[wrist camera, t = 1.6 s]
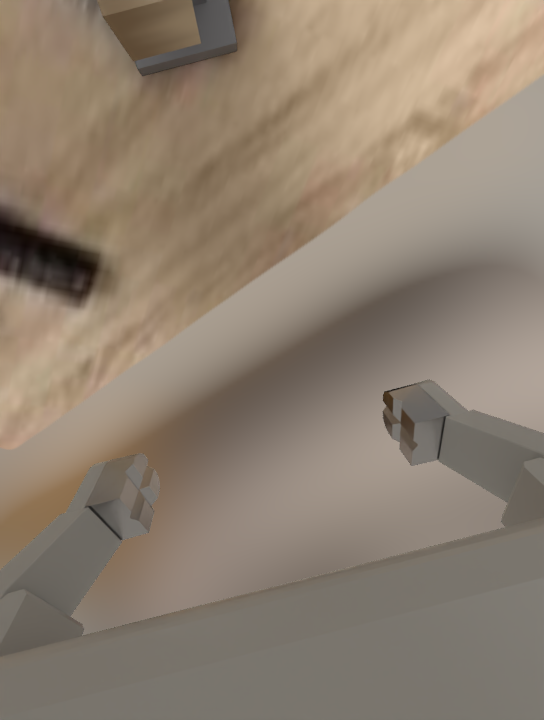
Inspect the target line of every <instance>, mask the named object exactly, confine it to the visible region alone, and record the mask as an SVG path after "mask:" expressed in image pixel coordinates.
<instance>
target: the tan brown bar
mask: <svg viewBox="0 0 544 720" xmlns="http://www.w3.org/2000/svg"><path fill="white" fill-rule="evenodd" d="M97 1H98V4H99V7H100V10H101V13H102V15H103V17H104V19H105V20H106V22H107V23H108V25H109V26H110V28H111V29H112V31H113V32H114V34H115V35H116V37H117V38H118V39H119V41H120V42H121V44H122V45H123V47H124V48H125V50H126V51H127V53H128V54H129V56H130V57H131V59H132V60H133V61H137V60H141V59H144V58H148V57H152V56H156V55H159V54H163V53H167V52H171V51H175V50H178V49H182V48H186V47H190V46H193V45H197V44H201V41H200V36H199V31H198V27H197V22H196V17H195V12H194V8H193V3H192V0H97Z"/></svg>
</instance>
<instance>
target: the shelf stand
mask: <svg viewBox="0 0 544 720" xmlns="http://www.w3.org/2000/svg"><path fill="white" fill-rule="evenodd" d="M192 3H193V8H194V12H195V17H196V22H197V27H198V31H199V36H200V41H201V44H197V45H193V46H190V47H186V48H182V49H178V50H175V51H171V52H167V53H163V54H159V55H156V56H152V57H148V58H144V59H141V60H137V61H135V63H136V66H137V69H138V70H139V72H140V73H141V75H142V76H144V75H148V74H151V73H155V72H159V71H163V70H167V69H170V68H174V67H178V66H182V65H185V64H189V63H193V62H197V61H201V60H204V59H208V58H212V57H216V56H220V55H223V54H227V53H231V52H235V51H237V41H236V36H235V31H234V26H233V21H232V16H231V11H230V6H229V1H228V0H192Z"/></svg>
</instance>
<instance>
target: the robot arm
mask: <svg viewBox="0 0 544 720" xmlns="http://www.w3.org/2000/svg"><path fill="white" fill-rule="evenodd" d="M383 402H384V403H385V404H386V408H385V409H384V410H383V419H384V423H385V426H386V429H387V431H388V433H389V434H390V436H391V437H392V438H393V439H394V440H396V441H398V442H400V450H401V452H402V453H403V455H404V456H405V458H406V459H407V460H408V462H409V463H410V465H411V466H413V465H418V464H422V463H427V462H431V461H435V460H439V462H441V463H442V464H444V465H446V466H447V467H449V468H451V469H452V470H454V471H456V472H458V473H459V474H461V475H462V476H464V477H466V478H467V479H469V480H471V481H472V482H474V483H476V484H477V485H479V486H481V487H482V488H484V489H486V490H487V491H489V492H491V493H492V494H494V495H495V496H497V497H499V498H501V499H502V500H504V501H505V502H507V505H506V508H505V510H504V513H503V515H502V520H501V522H502V524H503V525H504V526H505V528H501V529H497V530H493V531H489V532H485V533H481V534H477V535H473V536H470V537H466V538H462V539H458V540H454V541H450V542H446V543H443V544H438V545H434V546H430V547H426V548H423V549H419V550H415V551H411V552H407V553H403V554H399V555H396V556H391V557H387V558H383V559H380V560H376V561H372V562H368V563H364V564H360V565H356V566H352V567H349V568H344V569H341V570H336V571H333V572H329V573H325V574H321V575H317V576H313V577H309V578H306V579H301V580H298V581H294V582H290V583H286V584H282V585H278V586H274V587H270V588H266V589H262V590H258V591H254V592H250V593H247V594H243V595H239V596H235V597H231V598H227V599H223V600H219V601H215V602H211V603H207V604H204V605H200V606H196V607H192V608H188V609H184V610H180V611H176V612H172V613H169V614H164V615H161V616H157V617H153V618H149V619H145V620H141V621H138V622H133V623H129V624H125V625H122V626H118V627H114V628H110V629H106V630H102V631H99V632H94V633H90V634H87V635H83V636H82V634H83V631H84V627H83V624H82V623H80V622H78V621H77V620H75V619H73V618H72V617H70V616H71V615H72V613H73V612H74V610H75V609H76V607H77V606H78V605H79V603H80V602H81V600H82V599H83V597H84V596H85V595H86V593H87V592H88V590H89V589H90V587H91V586H92V584H93V583H94V582H95V580H96V579H97V577H98V576H99V574H100V573H101V572H102V570H103V569H104V567H105V566H106V564H107V563H108V561H109V560H110V559H111V557H112V555H113V554H114V553H115V551H116V550H117V549H118V547H119V546H120V544H121V543H122V541H121V540H125V539H128V538H132V537H135V536H139V535H142V534H146V533H149V530H150V526H151V522H152V518H153V514H154V510H153V508H152V504H153V503H154V502H155V500H156V499H157V498H158V494H159V489H160V486H159V478H158V475H157V473H156V472H155V470H154V469H153V468H150V467H148V466H147V462H148V459H147V458H146V457H145V455H144V454H135V455H130V456H126V457H122V458H117V459H113V460H110V461H106V462H101V463H97V464H94V465H93V466H92V467H90V469H89V471H88V473H87V474H86V476H85V478H84V480H83V482H82V484H81V486H80V487H79V489H78V491H77V493H76V495H75V496H74V498H73V500H72V502H71V504H70V506H69V508H68V509H67V511H66V513H63V514H60V515H59V516H58V517H57V518H56V519H55V520H54V521H53V522H52V523H50V524H49V525H48V527H46V528H45V529H44V530H43V531H42V532H41V533H40V534H39V535H38V536H37V537H35V538H34V539H33V540H32V541H31V542H30V543H29V544H28V545H27V546H26V547H25V548H24V549H22V550H21V551H20V552H19V553H18V554H17V555H16V556H15V557H14V558H13V559H12V560H11V561H10V562H8V563H7V564H6V565H5V566H4V567H3V568H2V569H1V570H0V720H544V433H542V432H539V431H536V430H533V429H529V428H527V427H523V426H521V425H517V424H515V423H511V422H509V421H506V420H503V419H500V418H497V417H494V416H490V415H488V414H484V413H481V412H478V411H475V410H471V411H468V410H467V409H465V408H464V407H463V406H462V405H461V404H460V403H459V402H457V401H456V400H455V399H454V398H453V397H452V396H450V395H449V394H448V393H447V392H446V391H445V390H443V389H442V388H441V387H440V386H439V385H438V384H436V383H435V382H434V381H432V380H426V381H422V382H418V383H414V384H411V385H407V386H404V387H400V388H396V389H392V390H388V391H385V392H384V394H383Z"/></svg>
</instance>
